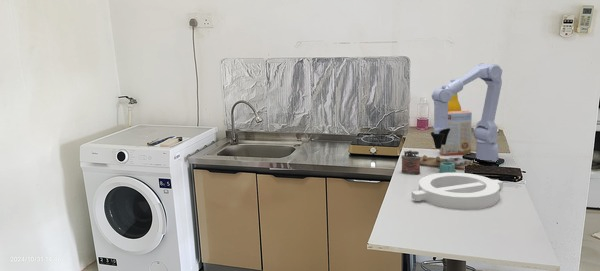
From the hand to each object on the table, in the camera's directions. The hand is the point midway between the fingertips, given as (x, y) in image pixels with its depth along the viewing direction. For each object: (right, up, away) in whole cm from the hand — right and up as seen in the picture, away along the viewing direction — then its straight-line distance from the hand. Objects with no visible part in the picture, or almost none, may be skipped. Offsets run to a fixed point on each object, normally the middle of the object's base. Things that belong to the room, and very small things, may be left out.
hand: (440, 146), depth 203 cm
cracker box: (+14, -4, +23) cm, 28 cm away
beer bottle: (+20, +1, +47) cm, 51 cm away
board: (+3, -8, +7) cm, 11 cm away
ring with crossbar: (-3, -18, -32) cm, 37 cm away
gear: (+1, -11, -6) cm, 12 cm away
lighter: (-14, -12, -3) cm, 18 cm away
